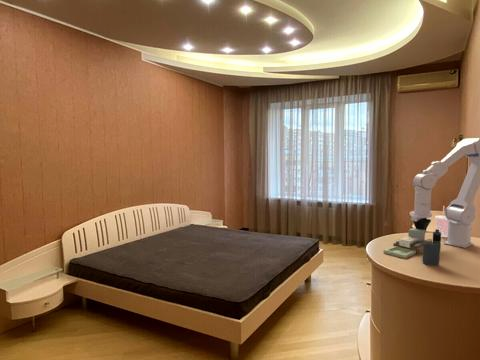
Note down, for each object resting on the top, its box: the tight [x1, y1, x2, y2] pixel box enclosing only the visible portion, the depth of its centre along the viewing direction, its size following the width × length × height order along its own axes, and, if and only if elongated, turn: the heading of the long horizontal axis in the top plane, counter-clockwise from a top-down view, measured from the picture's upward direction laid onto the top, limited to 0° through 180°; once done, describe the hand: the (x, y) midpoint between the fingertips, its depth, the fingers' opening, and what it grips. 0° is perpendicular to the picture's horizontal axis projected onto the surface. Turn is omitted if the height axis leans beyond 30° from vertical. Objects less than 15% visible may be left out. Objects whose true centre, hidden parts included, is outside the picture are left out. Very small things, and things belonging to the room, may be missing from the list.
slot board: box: [392, 238, 433, 255], centre depth 129 cm, size 14×10×3 cm, turn 128°
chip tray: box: [383, 245, 417, 259], centre depth 122 cm, size 9×8×1 cm
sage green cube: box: [407, 227, 426, 243], centre depth 130 cm, size 4×4×5 cm
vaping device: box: [421, 228, 442, 266], centre depth 110 cm, size 3×5×12 cm, turn 79°
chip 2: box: [405, 235, 419, 244], centre depth 128 cm, size 4×4×2 cm
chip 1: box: [398, 236, 415, 248], centre depth 125 cm, size 4×4×2 cm
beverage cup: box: [434, 205, 449, 238], centre depth 146 cm, size 6×6×14 cm
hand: (420, 236), depth 133 cm, fingers closed
